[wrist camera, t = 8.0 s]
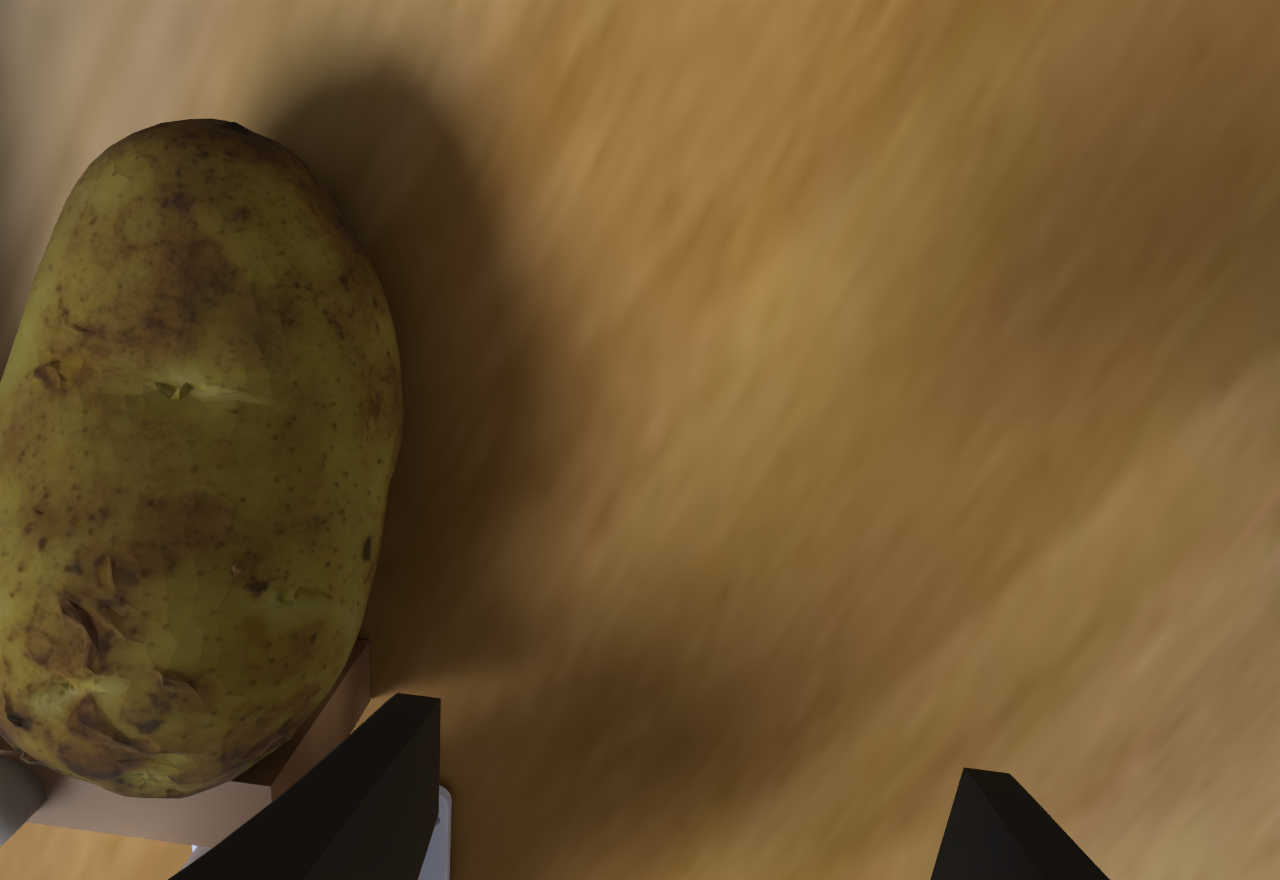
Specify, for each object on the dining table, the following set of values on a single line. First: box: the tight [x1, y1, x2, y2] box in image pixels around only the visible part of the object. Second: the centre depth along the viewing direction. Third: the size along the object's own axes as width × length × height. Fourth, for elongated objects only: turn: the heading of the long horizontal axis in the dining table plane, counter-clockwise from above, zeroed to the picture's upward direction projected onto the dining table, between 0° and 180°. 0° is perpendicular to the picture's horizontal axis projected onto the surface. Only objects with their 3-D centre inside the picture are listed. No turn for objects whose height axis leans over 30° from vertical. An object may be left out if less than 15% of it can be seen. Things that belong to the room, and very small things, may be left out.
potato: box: [0, 119, 404, 799], centre depth 17 cm, size 8×13×8 cm, turn 155°
